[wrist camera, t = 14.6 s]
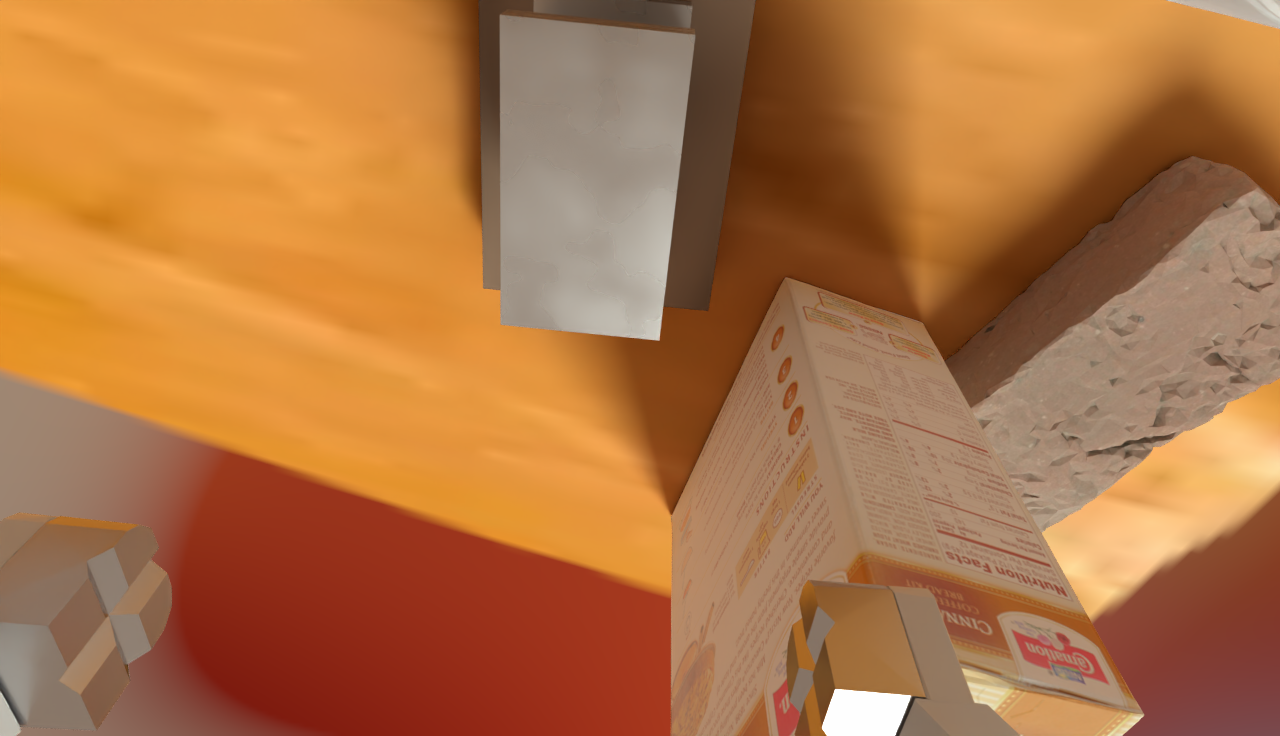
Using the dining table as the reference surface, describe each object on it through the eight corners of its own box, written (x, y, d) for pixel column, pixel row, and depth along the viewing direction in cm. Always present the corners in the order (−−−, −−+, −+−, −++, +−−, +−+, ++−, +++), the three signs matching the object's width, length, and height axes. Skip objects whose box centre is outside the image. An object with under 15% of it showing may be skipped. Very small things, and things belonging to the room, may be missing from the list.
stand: (498, 258, 34) (483, 288, 31) (496, -91, 27) (477, -88, 25) (706, 278, 34) (708, 310, 32) (756, -63, 27) (764, -58, 25)
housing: (538, -15, 26) (499, 14, 20) (692, 1, 26) (695, 34, 20) (533, 243, 30) (500, 324, 25) (663, 257, 30) (659, 340, 25)
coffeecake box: (791, 552, 42) (862, 985, 26) (665, 517, 41) (655, 943, 25) (932, 320, 35) (1163, 722, 18) (782, 270, 34) (880, 646, 17)
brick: (990, 497, 40) (1025, 565, 36) (872, 412, 38) (896, 475, 34) (1306, 260, 33) (1393, 312, 29) (1186, 136, 31) (1264, 174, 26)
